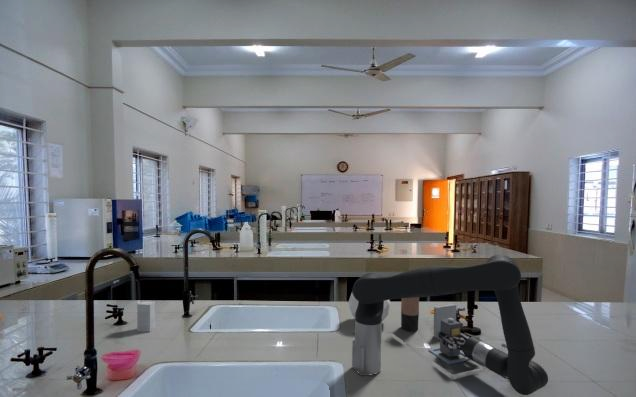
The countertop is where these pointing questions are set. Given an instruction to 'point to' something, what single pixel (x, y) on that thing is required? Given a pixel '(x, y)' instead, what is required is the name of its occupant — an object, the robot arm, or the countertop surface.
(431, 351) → the blue-grey square frame
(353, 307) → the polyhedron
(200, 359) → the countertop surface
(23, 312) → the countertop surface
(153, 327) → the skincare box
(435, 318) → the bay
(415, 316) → the travel mug
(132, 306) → the countertop surface
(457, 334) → the grey box bottle
